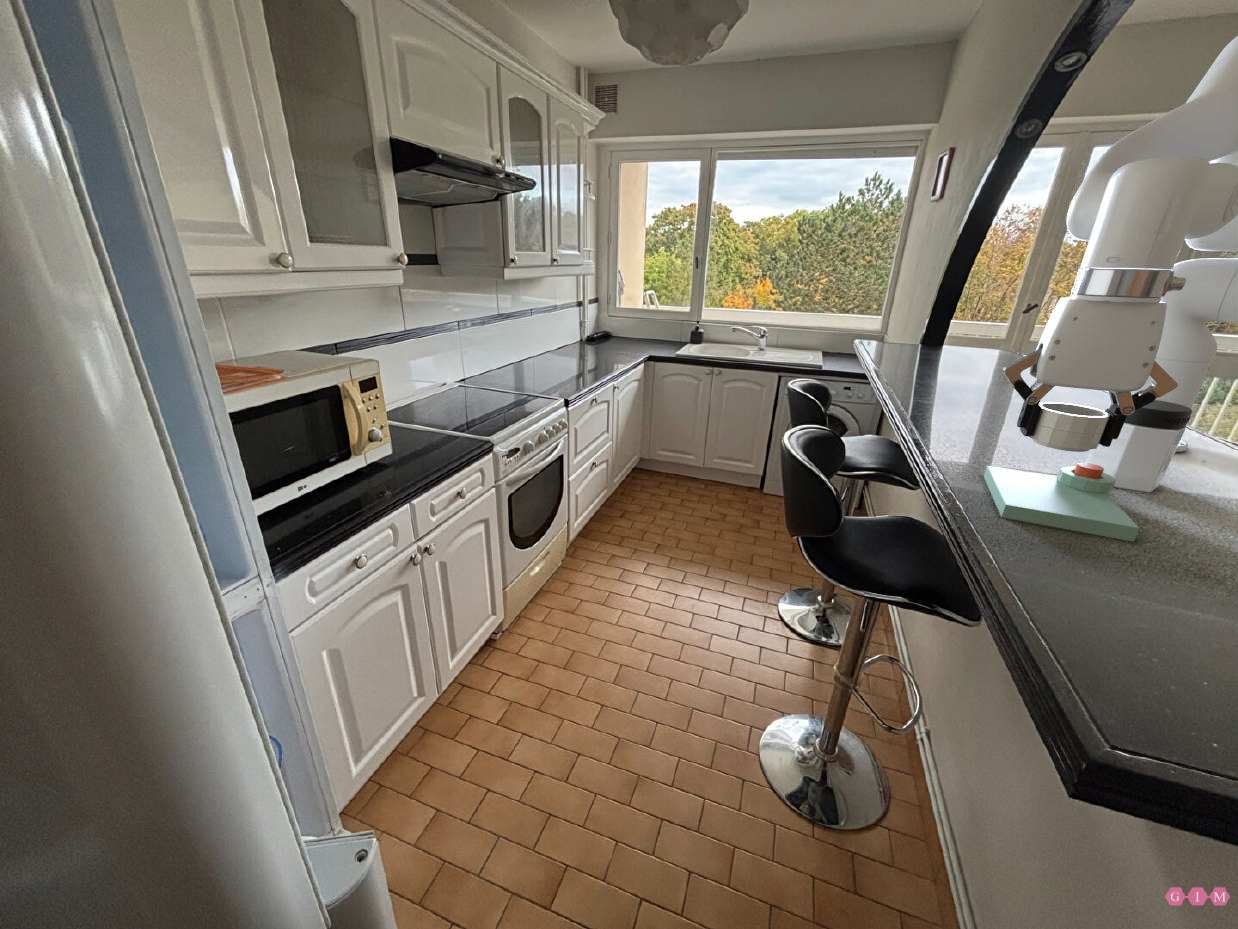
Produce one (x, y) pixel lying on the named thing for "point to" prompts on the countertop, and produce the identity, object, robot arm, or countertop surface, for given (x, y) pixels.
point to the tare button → (1089, 470)
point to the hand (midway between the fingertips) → (1062, 437)
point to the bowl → (1069, 427)
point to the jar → (1144, 446)
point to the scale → (1060, 501)
